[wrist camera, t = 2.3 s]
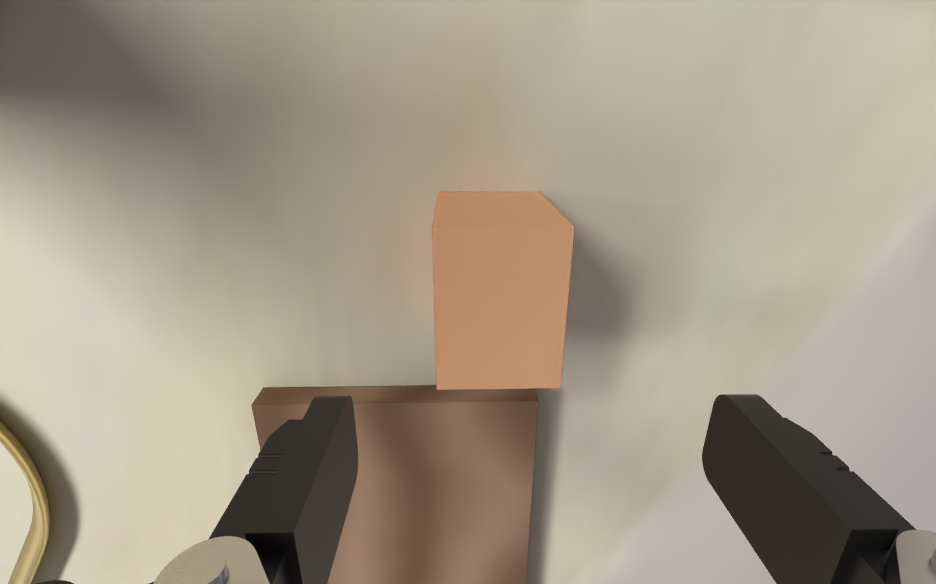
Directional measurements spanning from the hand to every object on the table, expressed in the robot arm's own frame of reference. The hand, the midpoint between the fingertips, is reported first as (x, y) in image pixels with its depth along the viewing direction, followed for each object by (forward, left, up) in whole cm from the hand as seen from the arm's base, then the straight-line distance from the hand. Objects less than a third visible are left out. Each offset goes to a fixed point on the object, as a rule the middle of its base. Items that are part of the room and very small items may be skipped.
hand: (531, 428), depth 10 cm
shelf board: (-5, -16, -12) cm, 21 cm away
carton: (0, 0, -12) cm, 12 cm away
